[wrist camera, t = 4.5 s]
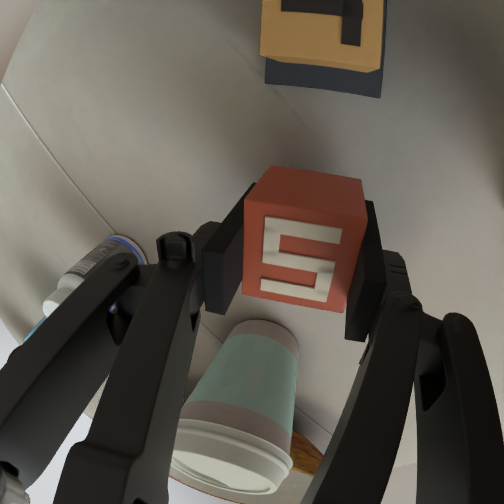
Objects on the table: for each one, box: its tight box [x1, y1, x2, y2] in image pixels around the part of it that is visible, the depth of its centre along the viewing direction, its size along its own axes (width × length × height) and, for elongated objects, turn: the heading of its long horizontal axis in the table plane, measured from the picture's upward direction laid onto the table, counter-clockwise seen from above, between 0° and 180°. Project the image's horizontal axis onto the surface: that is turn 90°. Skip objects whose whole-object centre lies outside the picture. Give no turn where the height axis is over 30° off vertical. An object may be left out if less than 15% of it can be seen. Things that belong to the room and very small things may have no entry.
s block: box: [242, 166, 368, 313], centre depth 14 cm, size 4×4×5 cm
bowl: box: [169, 430, 323, 504], centre depth 31 cm, size 25×25×8 cm
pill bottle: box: [43, 235, 147, 318], centre depth 21 cm, size 5×5×8 cm
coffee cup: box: [171, 320, 298, 495], centre depth 20 cm, size 8×9×12 cm
